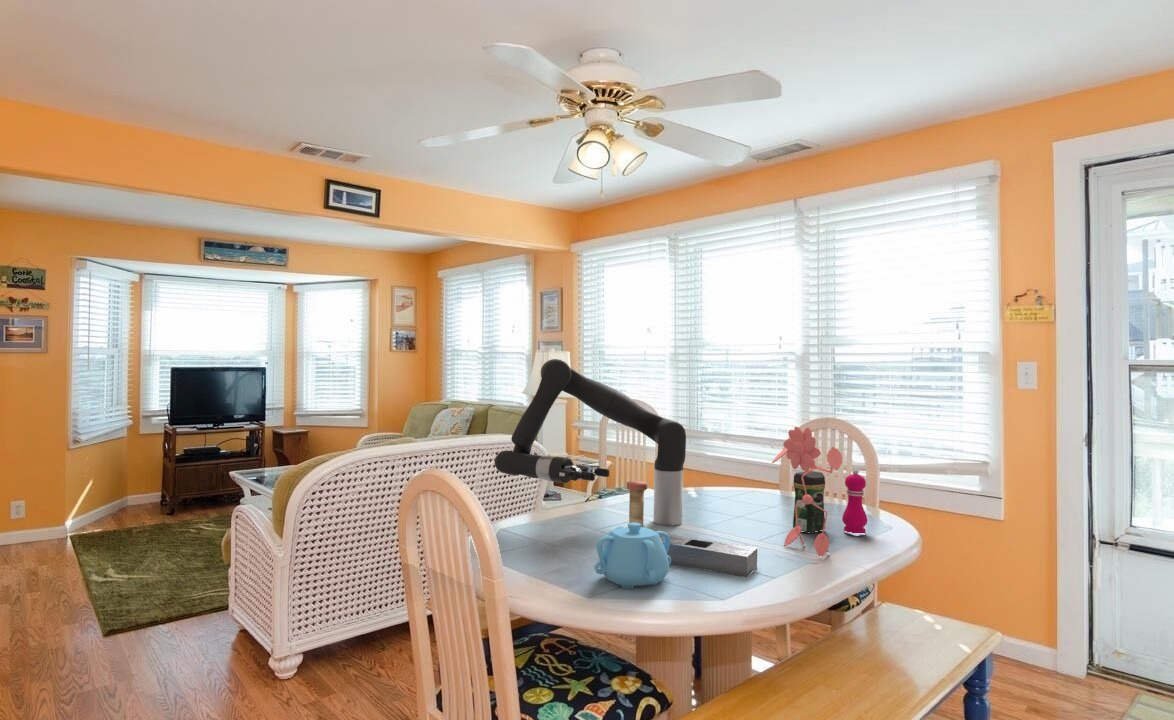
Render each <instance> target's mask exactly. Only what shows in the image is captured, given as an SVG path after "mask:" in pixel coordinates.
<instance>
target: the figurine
mask: <svg viewBox="0 0 1174 720" xmlns="http://www.w3.org/2000/svg"><path fill="white" fill-rule="evenodd" d="M787 433H788V437H789V438H788V439H785V441H784V442H783V443H782V444H783V445H782V446H783V447H784V449H783V450H781V451H780V452H779V453H778V454H777V456H775V457H774V459H773V460H772V462H771V464H774V463H776V462H777V461H778V460H780V459H781V458H782V457H784V456H785V455H786V458H787V459H789V460H790V464H791V467H792V469H793V470H796V469H798V468H799V466H800V468H801V470H802V471H803V472H806V473H804V474H803V475H802V476H803V477H804V476H805V475H806V474H808V473H809V472H811V471H814V470H820V471H823V472H827V473H830V474H832V473H833V470H835V471H839V469H840V467H841V466H842V464H843V456H842V452H841V451H840V450H839V449H838V448H836V447H835V446H831V449H829V450H828V451H827V455H826V460H827V463H828V465H829V466H830V470H829V469H826V468H822V467H820V466H818V465H817V464H816V461H815V460H814V459H817V458H818V457H820V456H821V453H822V452H821V450H820V449H819V448H818V447H816V438H815V437H813V434H812V430H811V428H810V427H805V429H804V430H803V431H802V429H801V428H800V427H798V426H795V427H794V429H789V430H788V432H787ZM803 477H801V479H802V483H803V487H804V490H805V494H806V495H804V496H803V498H802V500H801V501H800V502H802V501H803V502H804V503H805V504H813V505H815V504H814V503H812V501H813V499H812V497H811V496H810V495H807V493H806V488H805V484H804V479H803ZM800 502H798V503H796V527H794V528H793V527H792V528H791V530H790V531H789V532H788V533H787V535H786V537H785V540H784V545H783V547H787V546H789V545H791V544H792V543H794V542H795V541H796V540H797V539H798V538H799V539H800V541H801V545H802V546H803V545H804V544H805V542H804V540H803V536H802V532H801V527H800V526H797V504H799V503H800ZM815 506H816V507H818V508H820V507H819V506H817V505H815ZM820 509H821V510H823V509H822V508H820ZM823 511H824V513H825V515H824V516H825V521H824V526H823V531H821V533H819V534H817V536H816V538H815V540H814V544H813V546H814V549H815V551H816V554H817V555H818V556H822V557H823V556H824V555H825V554H826V553H827V552H829V553H830V551H829V547H830V542H829V539H828V536H827V535H826V534H825V530H826V523H827V518H828V511H827V510H826V509H824V510H823ZM824 529H825V530H824Z"/></svg>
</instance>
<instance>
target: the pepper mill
mask: <svg viewBox="0 0 1174 720" xmlns="http://www.w3.org/2000/svg"><path fill="white" fill-rule="evenodd" d="M844 480H845V481H844V485H845V486H846V488H847V489H846V495H847V505H846V507H845V509H844V511H843V513H842V519H841V520H842V522H843V523H842V524H844V527H843V532H844V531H847V532H852V533H865V534H866V528H865V527H866V525H867V524H868V515H867V514H866V511H865V509H864V507H863V506H864V505H863V496H864V495H865V494H864V493H865V491H864V489H865V488H866V486H867V484H866V483H867V482H866V479H865V478H864V476H863V475H861V474H860V473H859V469H855V468H854V469H853V470H852V474H849V475H847V476H846V478H845V479H844Z"/></svg>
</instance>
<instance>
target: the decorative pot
mask: <svg viewBox="0 0 1174 720" xmlns="http://www.w3.org/2000/svg"><path fill="white" fill-rule="evenodd" d="M668 534H669V533H667V532H665V531H663V530H657V531H655V530H653V529H651V528H648V527H644V526H643V527H641V524H640V523H629V522H628V523H627V527H625V526H617V527H616V528H613V529H611V530H610V531H609V533H608V535H604V536H602V537H600V538H599V540H598V541H597V543H596V552H597V555H598V559H599V561H598V562H596V563H595V565H594V572H595V573H597V574H599V575H603V576H604V577H605V578H606V579H608V581H611V582H612V583H614V584H616V585H619V586H620V585H621V588H622V587H624V588H623V589H625V588H631V589H633V588H634V586H657V585H658V583H660V582H662V581H663V580H664V579H665V578H666V576H667V574H668V573H669V570H670V568H669V567H670V565H671V558H670V556H668V555H667V552H668V549H669V546H670V537H669V535H668ZM659 535H663V536H664V537H665V543H664V545H663V543H662V540H661V538H660V536H659ZM632 587H633V588H632Z"/></svg>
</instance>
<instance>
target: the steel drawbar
mask: <svg viewBox="0 0 1174 720" xmlns="http://www.w3.org/2000/svg"><path fill="white" fill-rule="evenodd" d="M667 534H668V535H669V537H670V546H669V549H668V552H667V555H668V556H670V558H671V564H672V565H677V566H683V567H688V568H692V569H698V568H699V569H700V570H704V569H706V570H705V571H709V570H711V571H710V572H714V571H716V572H715V573H720V572H721V574H725V573H726V574H727V575H733V576H736V575H737V577H742V576H743V578H748V577H749V576H750V575H751V574H752V573H753V572H754V571H755V570H756V569H757V568H758V547H753V546H747V545H739V544H734V543H727V542H721V541H715V540H714V541H713V540H709V539H703V538H698V537H697V538H695V537H689V536H684V535H683V536H682V535H677V534H671V533H667ZM659 536H660V538H661V540H662V543H663V545H664V543H665V537H664V536H663V535H659ZM671 564H670V565H671ZM753 570H754V571H753ZM752 571H753V572H752ZM751 572H752V573H751ZM750 573H751V574H750ZM749 574H750V575H749ZM748 575H749V576H748ZM747 576H748V577H747Z"/></svg>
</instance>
